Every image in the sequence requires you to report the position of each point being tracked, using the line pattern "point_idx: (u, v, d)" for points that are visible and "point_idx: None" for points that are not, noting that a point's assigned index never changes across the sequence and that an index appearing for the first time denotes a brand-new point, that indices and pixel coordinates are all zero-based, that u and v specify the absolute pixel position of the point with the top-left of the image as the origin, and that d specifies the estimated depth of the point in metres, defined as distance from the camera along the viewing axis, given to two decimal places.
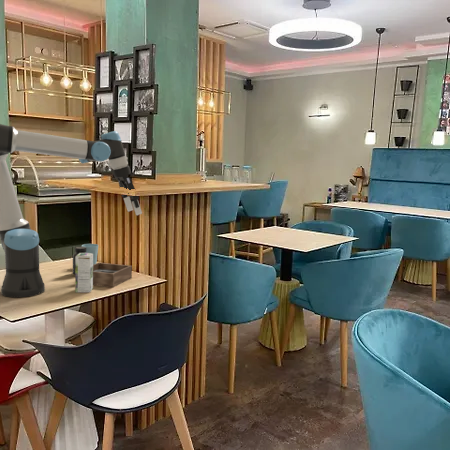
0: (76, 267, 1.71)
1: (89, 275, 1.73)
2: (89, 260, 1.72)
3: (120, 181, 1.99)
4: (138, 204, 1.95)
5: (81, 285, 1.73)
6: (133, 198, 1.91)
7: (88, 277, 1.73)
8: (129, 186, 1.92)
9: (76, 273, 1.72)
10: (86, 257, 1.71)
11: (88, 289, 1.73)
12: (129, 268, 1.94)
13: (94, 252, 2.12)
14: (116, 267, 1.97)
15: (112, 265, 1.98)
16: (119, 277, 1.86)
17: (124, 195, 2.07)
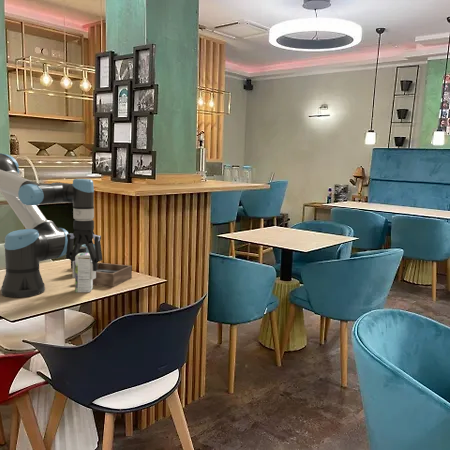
0: (76, 267, 1.71)
1: (89, 275, 1.73)
2: (89, 260, 1.72)
3: None
4: (71, 265, 1.75)
5: (81, 285, 1.73)
6: None
7: (88, 277, 1.73)
8: None
9: (76, 273, 1.72)
10: (86, 257, 1.71)
11: (88, 289, 1.73)
12: (129, 268, 1.94)
13: None
14: (116, 267, 1.97)
15: (112, 265, 1.98)
16: (119, 277, 1.86)
17: None
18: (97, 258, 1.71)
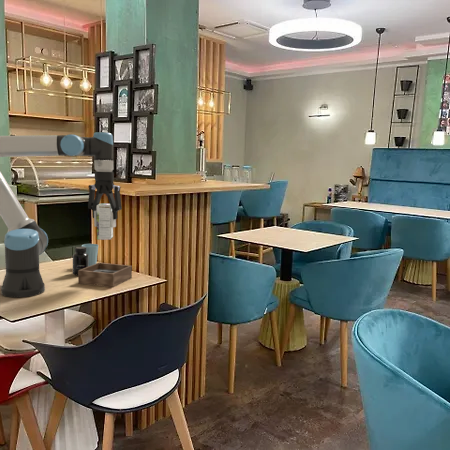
0: (97, 215, 1.83)
1: (109, 223, 1.84)
2: (109, 209, 1.83)
3: None
4: None
5: (102, 232, 1.84)
6: None
7: (108, 225, 1.84)
8: None
9: (97, 221, 1.83)
10: (106, 206, 1.83)
11: (109, 236, 1.85)
12: (129, 268, 1.94)
13: (94, 252, 2.12)
14: (116, 267, 1.97)
15: (112, 265, 1.98)
16: (119, 277, 1.86)
17: None
18: (117, 207, 1.83)
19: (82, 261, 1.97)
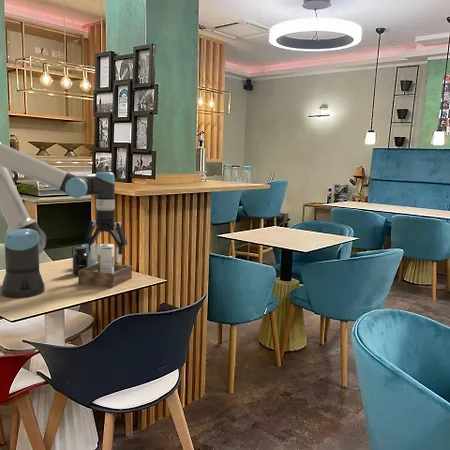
0: (99, 256, 1.87)
1: (111, 264, 1.87)
2: (111, 250, 1.87)
3: None
4: None
5: None
6: None
7: (110, 266, 1.87)
8: None
9: (99, 262, 1.87)
10: (108, 247, 1.86)
11: None
12: (129, 268, 1.94)
13: None
14: (116, 267, 1.97)
15: None
16: (119, 277, 1.86)
17: (120, 243, 1.88)
18: (122, 242, 1.85)
19: (82, 261, 1.97)
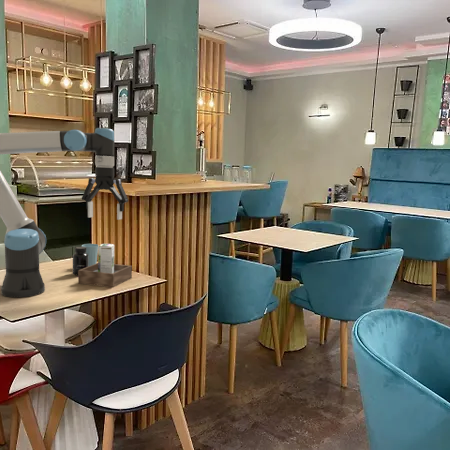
0: (99, 256, 1.87)
1: (111, 264, 1.87)
2: (111, 250, 1.87)
3: None
4: (86, 206, 1.88)
5: None
6: None
7: (110, 266, 1.87)
8: None
9: (99, 262, 1.87)
10: (108, 247, 1.86)
11: None
12: (129, 268, 1.94)
13: (94, 252, 2.12)
14: (116, 267, 1.97)
15: None
16: (119, 277, 1.86)
17: None
18: (123, 199, 1.83)
19: (82, 261, 1.97)
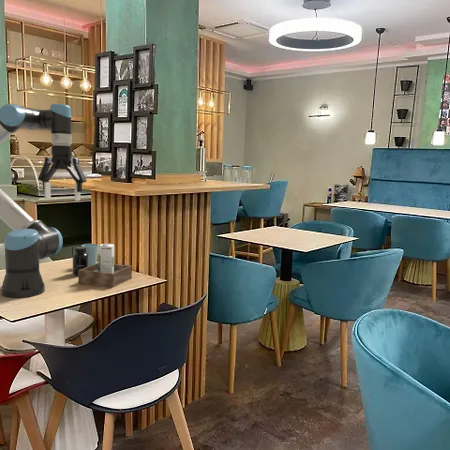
0: (99, 256, 1.87)
1: (111, 264, 1.87)
2: (111, 250, 1.87)
3: None
4: (43, 187, 1.79)
5: None
6: None
7: (110, 266, 1.87)
8: None
9: (99, 262, 1.87)
10: (108, 247, 1.86)
11: None
12: (129, 268, 1.94)
13: (94, 252, 2.12)
14: (116, 267, 1.97)
15: None
16: (119, 277, 1.86)
17: None
18: (81, 179, 1.73)
19: (82, 261, 1.97)
